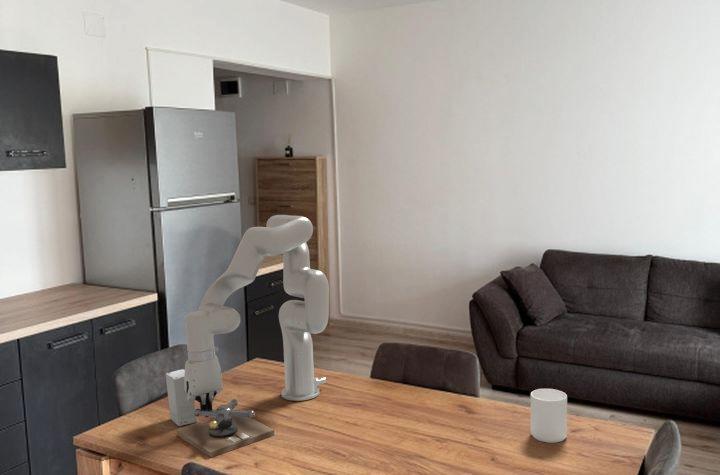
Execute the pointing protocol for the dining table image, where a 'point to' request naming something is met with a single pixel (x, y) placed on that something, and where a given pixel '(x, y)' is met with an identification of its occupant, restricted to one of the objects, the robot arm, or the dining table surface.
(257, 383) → the dining table surface
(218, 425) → the capstan
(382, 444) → the dining table surface
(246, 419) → the board
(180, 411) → the skincare box
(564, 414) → the mug
